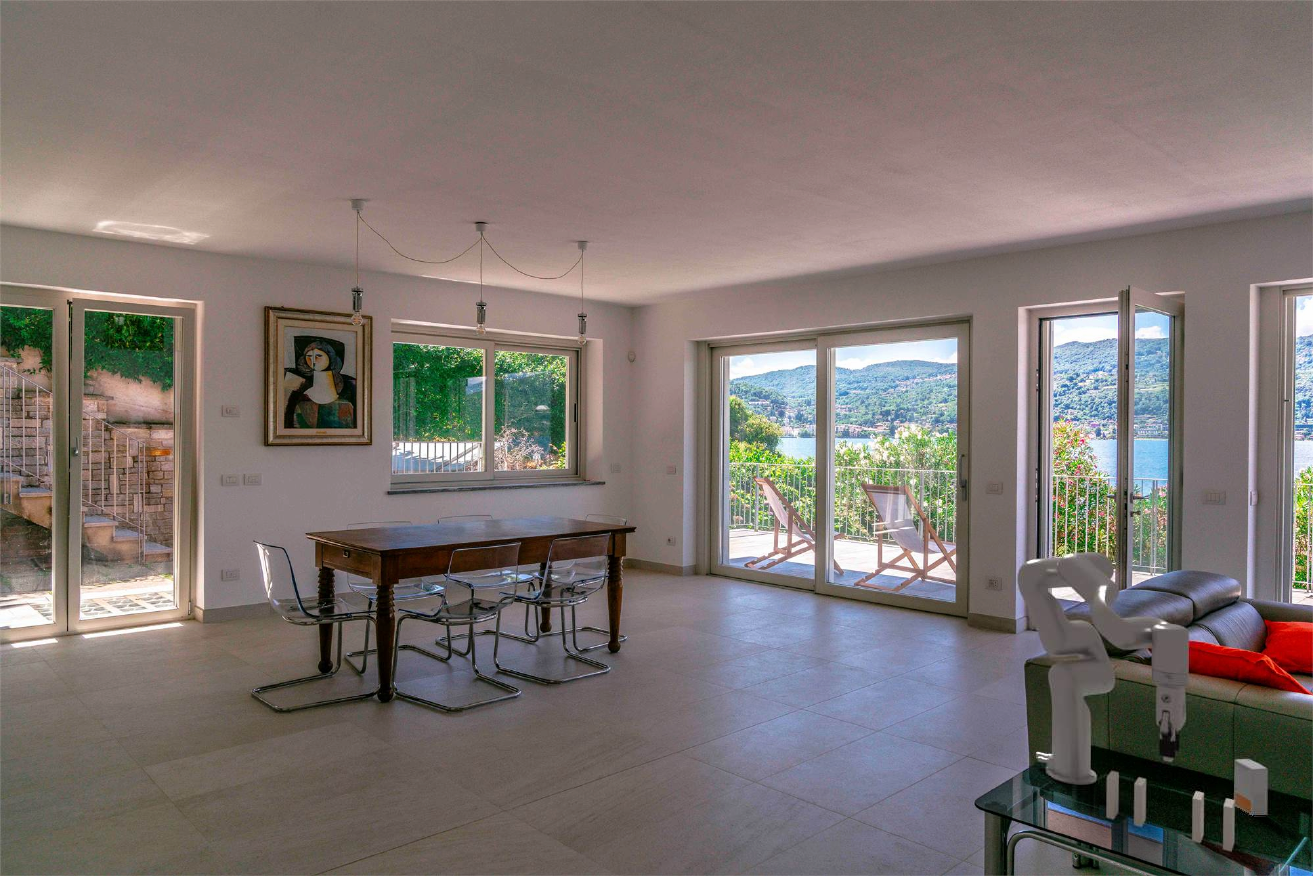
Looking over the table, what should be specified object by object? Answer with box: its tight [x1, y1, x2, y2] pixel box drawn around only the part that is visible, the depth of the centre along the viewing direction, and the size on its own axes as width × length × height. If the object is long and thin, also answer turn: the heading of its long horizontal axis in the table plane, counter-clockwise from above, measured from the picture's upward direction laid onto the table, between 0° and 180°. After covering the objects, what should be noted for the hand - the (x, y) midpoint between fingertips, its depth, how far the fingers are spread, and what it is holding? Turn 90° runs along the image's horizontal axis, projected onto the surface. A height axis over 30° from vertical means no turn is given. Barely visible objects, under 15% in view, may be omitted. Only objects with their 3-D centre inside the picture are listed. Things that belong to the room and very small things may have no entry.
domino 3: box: [1163, 725, 1175, 763], centre depth 201 cm, size 2×5×10 cm, turn 140°
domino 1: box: [1105, 770, 1120, 820], centre depth 209 cm, size 2×5×10 cm, turn 140°
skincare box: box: [1233, 758, 1269, 817], centre depth 211 cm, size 6×4×12 cm
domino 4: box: [1191, 790, 1205, 844], centre depth 197 cm, size 2×5×10 cm, turn 140°
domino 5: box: [1222, 798, 1236, 853], centre depth 194 cm, size 2×5×10 cm, turn 140°
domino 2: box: [1133, 776, 1147, 828], centre depth 205 cm, size 2×5×10 cm, turn 140°
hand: (1169, 752), depth 201 cm, fingers closed on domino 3, 4 cm apart
